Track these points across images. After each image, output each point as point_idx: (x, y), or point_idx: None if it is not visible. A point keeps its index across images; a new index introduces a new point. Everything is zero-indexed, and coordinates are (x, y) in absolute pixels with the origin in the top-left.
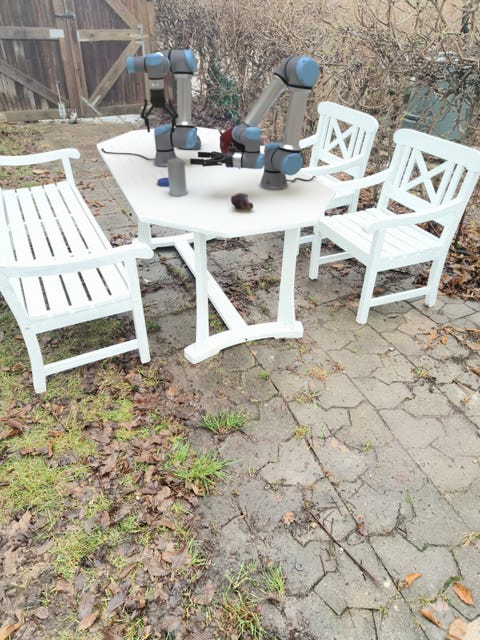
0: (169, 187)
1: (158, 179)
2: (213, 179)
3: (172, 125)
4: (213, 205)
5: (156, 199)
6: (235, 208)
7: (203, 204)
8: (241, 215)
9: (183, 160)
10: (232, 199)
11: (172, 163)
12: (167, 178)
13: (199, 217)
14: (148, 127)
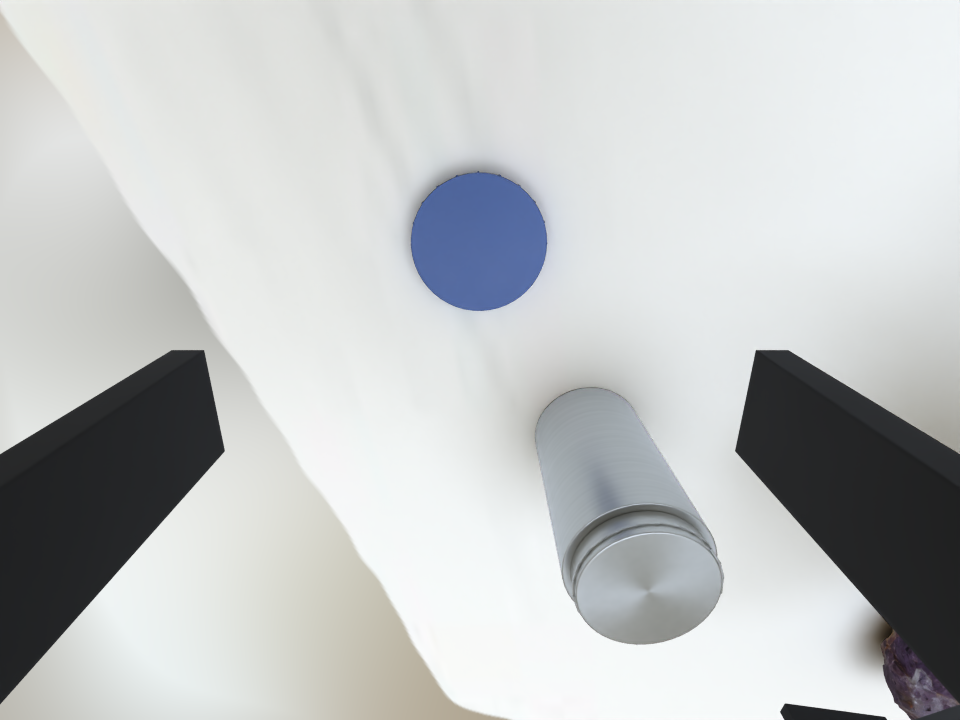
0: (540, 467)
1: (414, 226)
2: (859, 119)
3: (836, 548)
4: (779, 593)
5: (469, 523)
6: (882, 647)
7: (728, 582)
8: (887, 688)
9: (722, 577)
10: (903, 710)
11: (620, 638)
12: (483, 197)
13: (699, 706)
14: (166, 516)
